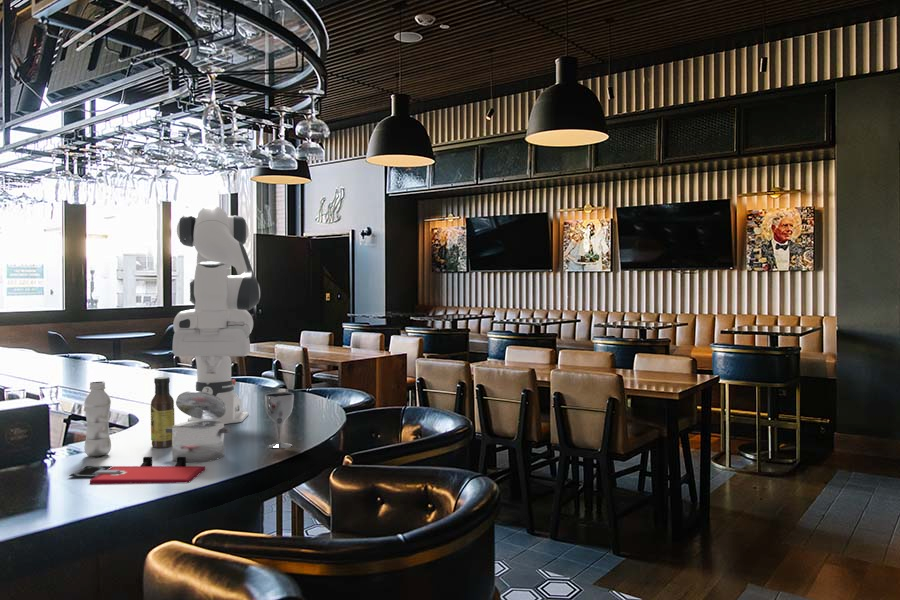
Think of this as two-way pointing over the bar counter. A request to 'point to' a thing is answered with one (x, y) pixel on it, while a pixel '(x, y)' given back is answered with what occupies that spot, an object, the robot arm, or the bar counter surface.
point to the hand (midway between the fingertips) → (211, 373)
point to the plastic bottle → (97, 420)
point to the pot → (198, 440)
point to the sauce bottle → (162, 414)
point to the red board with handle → (141, 473)
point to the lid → (201, 405)
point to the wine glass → (279, 412)
